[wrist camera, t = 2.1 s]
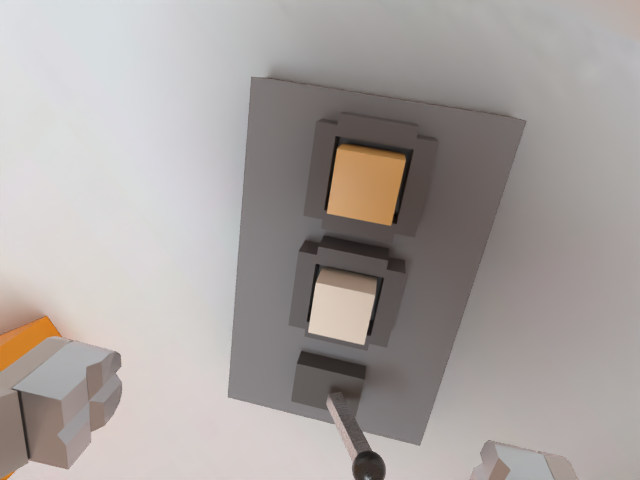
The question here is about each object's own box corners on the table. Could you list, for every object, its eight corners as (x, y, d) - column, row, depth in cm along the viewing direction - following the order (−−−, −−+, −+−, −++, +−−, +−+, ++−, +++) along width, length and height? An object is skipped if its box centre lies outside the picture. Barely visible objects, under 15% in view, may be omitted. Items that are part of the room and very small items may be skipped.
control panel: (512, 117, 25) (538, 124, 21) (418, 416, 35) (421, 467, 30) (266, 77, 27) (239, 76, 22) (240, 373, 36) (218, 415, 32)
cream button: (377, 277, 26) (375, 295, 24) (366, 324, 27) (364, 345, 25) (322, 266, 26) (315, 282, 24) (315, 312, 28) (307, 332, 25)
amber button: (404, 153, 23) (405, 160, 21) (391, 213, 24) (391, 225, 22) (342, 142, 23) (337, 148, 21) (333, 201, 25) (326, 213, 22)
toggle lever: (348, 385, 29) (395, 469, 23) (343, 406, 30) (387, 492, 24) (322, 389, 28) (364, 476, 23) (318, 410, 29) (357, 500, 23)
